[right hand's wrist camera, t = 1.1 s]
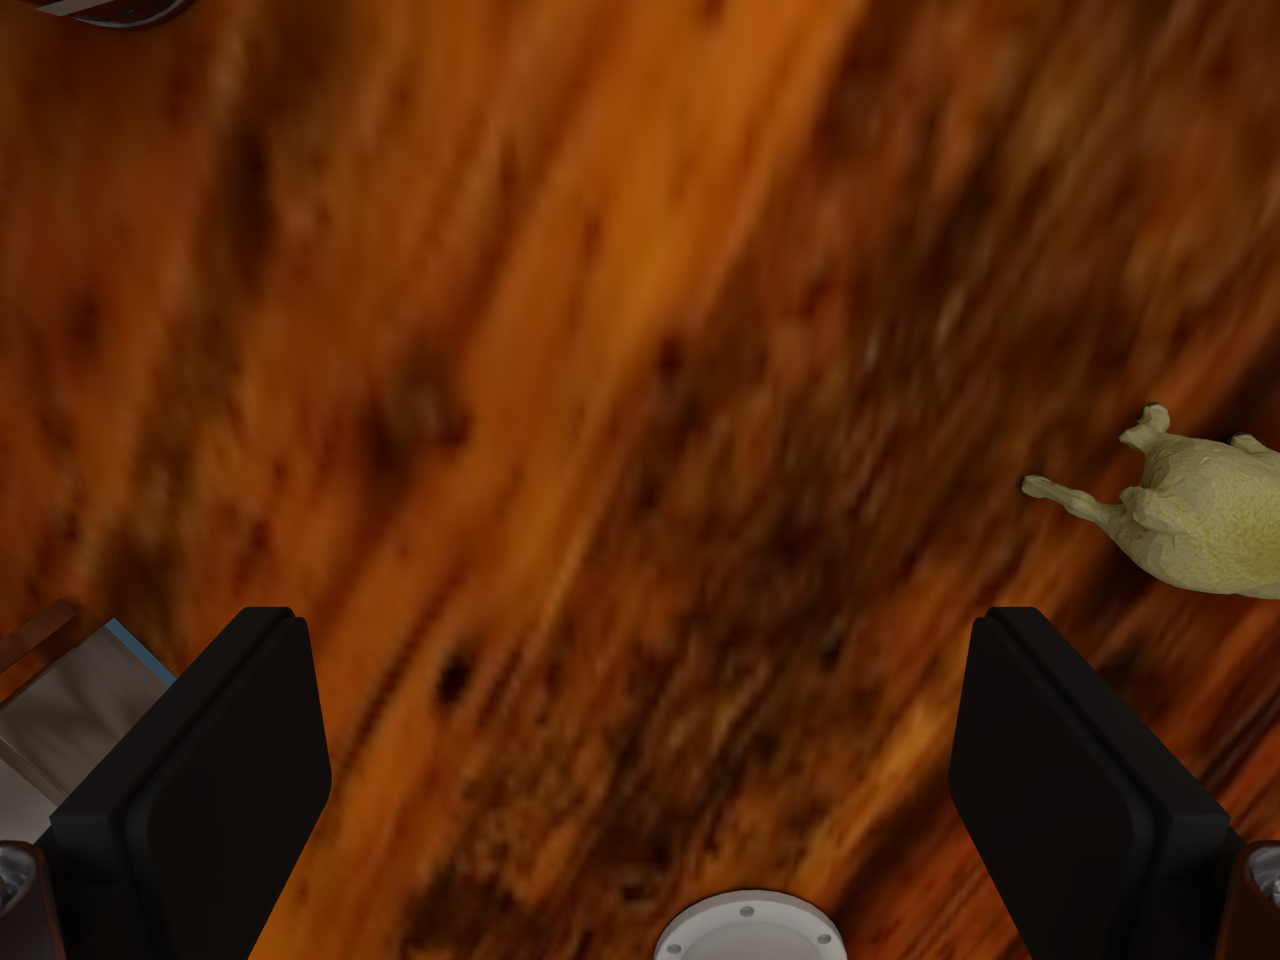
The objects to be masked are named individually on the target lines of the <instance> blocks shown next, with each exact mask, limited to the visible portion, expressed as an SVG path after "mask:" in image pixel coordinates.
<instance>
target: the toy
mask: <svg viewBox="0 0 1280 960" xmlns="http://www.w3.org/2000/svg"><path fill="white" fill-rule="evenodd" d="M1137 422H1138V423H1139V424H1138V425H1137V426H1136V427H1134V428H1131V429H1128V430H1126V431H1125V432H1124V433H1123V434H1121V435H1120V436H1119V437H1118V438H1119V440H1120V441H1121V442H1123V443H1125V444H1127V445H1128V446H1129V447H1130V448H1131V449H1133V450H1135V451H1137V452H1139V453H1141V454H1143V455H1144V456H1145V464H1144V468H1143V475H1142V479H1141V482H1140V484H1139V486H1137V487H1128V488H1126V489H1124V490H1122V491H1121V493H1120V495H1119V497H1120V498H1121V500H1122V501H1123V503H1122V504H1118V505H1110V504H1104V503H1101V502H1098V501H1096V500H1095V499H1094V498H1093V497H1092V496H1091V495H1089V494H1087V493H1085V492H1083V491H1080V490H1072V489H1069V488H1067V487H1065V486H1062V485H1060V484H1056V483H1052V482H1051V481H1050V480H1049V479H1046V478H1045V477H1043V476H1042V475H1027V476H1024V477H1023V480H1022V484H1021V488H1022V490H1023V492H1025V494H1026V495H1029V496H1032V497H1035V498H1044V497H1046V498H1049V499H1052V500H1054V501H1057V502H1059V503H1060V504H1062V505H1063V506H1064V507H1065V508H1066V510H1067V511H1068V512H1069V513H1071V514H1073V515H1075V516H1077V517H1079V518H1083V519H1087V520H1089V521H1092V522H1094V523H1095V524H1097V525H1098V526H1099V527H1100V528H1101V529H1102V530H1103V531H1105V532H1106V533H1107V535H1108V536H1109V537H1110V538H1111V539H1112V540H1114V541H1115V542H1116V544H1117V545H1118V546H1119V547H1120V548H1121V549H1122V550H1123V551H1124V552H1125V553H1126V554H1127V555H1128V556H1129V557H1130V558H1131V559H1132V560H1133V561H1134V562H1135V563H1136V564H1137V565H1138V566H1139V567H1141V568H1142V569H1143V570H1145V571H1146V572H1148V573H1150V574H1151V575H1153V576H1154V577H1156V578H1158V579H1159V580H1161V581H1163V582H1166V583H1168V584H1170V585H1172V586H1175V587H1179V588H1184V589H1189V590H1195V591H1201V592H1207V593H1216V594H1232V593H1237V594H1241V595H1244V596H1248V597H1255V598H1263V599H1280V453H1278V452H1275V451H1273V450H1270V449H1268V448H1266V447H1265V446H1263V445H1262V444H1261V443H1260V442H1258V441H1257V440H1256V439H1255V438H1254V437H1253V436H1252V435H1251V434H1248V433H1242V432H1238V433H1236V434H1234V435H1233V436H1231V437H1229V439H1228V441H1227V444H1224V443H1222V442H1215V441H1210V440H1205V439H1195V438H1187V437H1184V436H1181V435H1174V434H1167V433H1166V430H1167V428H1168V427H1169V424H1170V418H1169V415H1168V410H1167V409H1166V408H1165V407H1163V406H1162V405H1161V404H1160V403H1156V402H1151V403H1150V404H1148V405H1147V406H1145V407H1144V408H1143V410H1142V413H1141V415H1140V416H1139V418H1138V421H1137Z"/></svg>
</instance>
